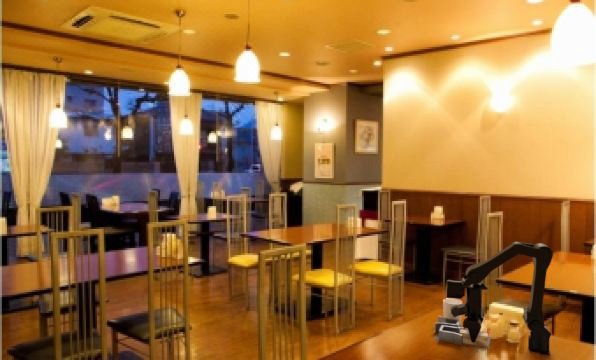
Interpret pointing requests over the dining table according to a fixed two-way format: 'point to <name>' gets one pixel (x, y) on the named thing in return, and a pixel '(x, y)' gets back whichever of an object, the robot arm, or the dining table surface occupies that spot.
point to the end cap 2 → (451, 334)
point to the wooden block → (480, 340)
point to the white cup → (447, 308)
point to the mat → (465, 343)
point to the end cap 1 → (446, 323)
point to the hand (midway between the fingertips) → (473, 339)
